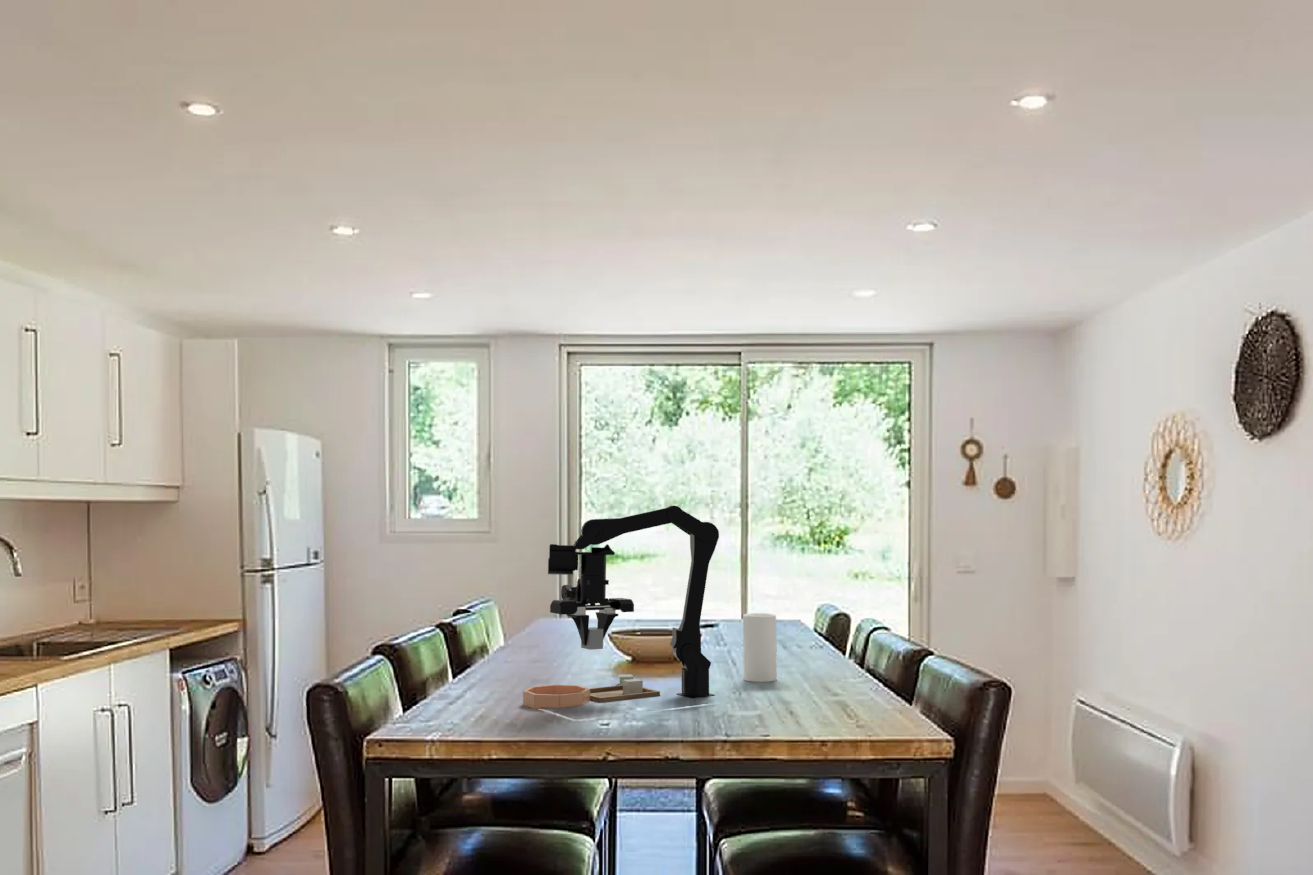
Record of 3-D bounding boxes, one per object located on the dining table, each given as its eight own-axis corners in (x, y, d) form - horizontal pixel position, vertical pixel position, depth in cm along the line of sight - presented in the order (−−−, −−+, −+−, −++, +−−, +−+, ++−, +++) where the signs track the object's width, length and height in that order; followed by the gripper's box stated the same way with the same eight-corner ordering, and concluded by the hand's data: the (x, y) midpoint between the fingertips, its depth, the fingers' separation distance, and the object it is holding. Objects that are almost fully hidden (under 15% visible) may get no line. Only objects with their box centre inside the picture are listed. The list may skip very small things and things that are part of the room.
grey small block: (637, 692, 245) (637, 678, 245) (642, 694, 242) (642, 680, 243) (622, 693, 244) (622, 679, 244) (628, 695, 241) (628, 681, 241)
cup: (740, 681, 264) (739, 615, 265) (747, 676, 272) (746, 612, 273) (773, 682, 261) (772, 616, 262) (779, 677, 269) (778, 613, 270)
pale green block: (633, 676, 254) (633, 688, 254) (631, 674, 258) (631, 686, 258) (619, 677, 254) (619, 689, 254) (618, 674, 258) (618, 686, 258)
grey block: (602, 648, 239) (603, 629, 239) (589, 649, 237) (589, 629, 237) (594, 646, 242) (594, 627, 242) (581, 647, 240) (581, 627, 240)
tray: (659, 697, 240) (659, 691, 241) (599, 704, 232) (599, 698, 232) (630, 690, 251) (630, 684, 251) (572, 696, 243) (572, 690, 243)
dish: (599, 705, 231) (599, 691, 232) (542, 711, 224) (542, 697, 224) (569, 696, 243) (569, 683, 243) (515, 702, 235) (515, 688, 236)
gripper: (611, 572, 252) (610, 639, 251) (540, 573, 242) (538, 643, 241) (635, 575, 243) (634, 644, 242) (562, 576, 233) (560, 648, 232)
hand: (591, 645), depth 239 cm, fingers closed on grey block, 3 cm apart
